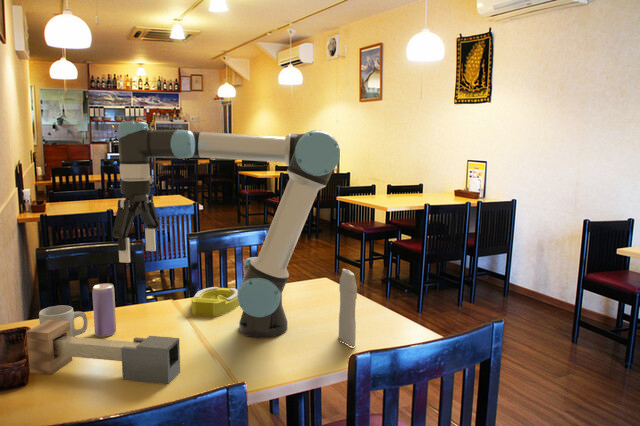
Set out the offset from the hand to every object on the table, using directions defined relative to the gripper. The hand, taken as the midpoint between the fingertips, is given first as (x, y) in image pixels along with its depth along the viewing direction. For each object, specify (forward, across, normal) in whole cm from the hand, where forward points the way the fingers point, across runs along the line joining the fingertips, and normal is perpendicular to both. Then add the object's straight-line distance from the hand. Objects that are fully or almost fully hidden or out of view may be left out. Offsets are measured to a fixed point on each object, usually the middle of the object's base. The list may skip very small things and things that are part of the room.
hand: (138, 256), depth 132 cm
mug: (+27, +3, -22) cm, 35 cm away
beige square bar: (+22, +15, -3) cm, 27 cm away
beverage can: (+27, -7, -16) cm, 32 cm away
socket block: (+27, +15, -17) cm, 35 cm away
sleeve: (+27, +15, +11) cm, 33 cm away
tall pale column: (+27, -15, +57) cm, 65 cm away
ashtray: (+27, -38, +7) cm, 47 cm away
